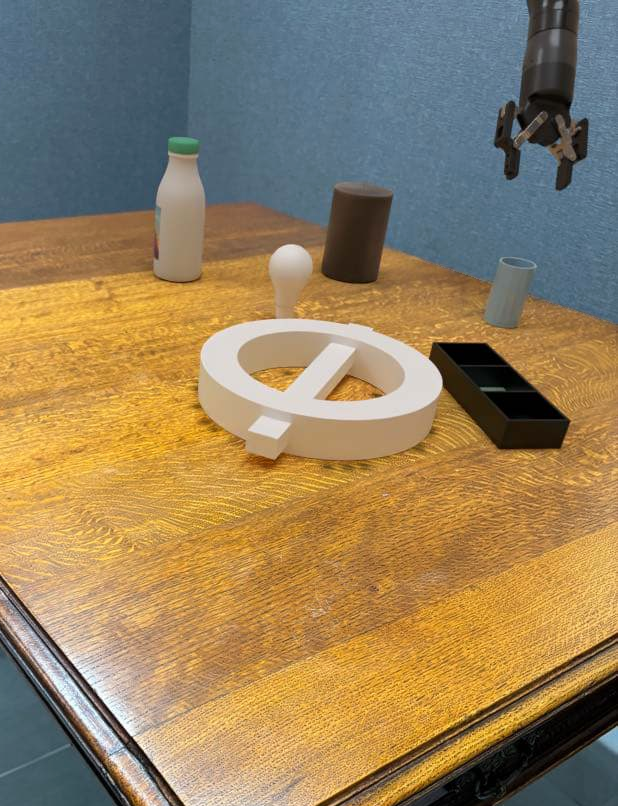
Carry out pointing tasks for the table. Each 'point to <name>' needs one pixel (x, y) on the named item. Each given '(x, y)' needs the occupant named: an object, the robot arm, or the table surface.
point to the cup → (509, 292)
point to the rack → (498, 397)
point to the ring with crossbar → (317, 389)
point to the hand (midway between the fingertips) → (537, 183)
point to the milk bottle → (180, 215)
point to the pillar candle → (356, 232)
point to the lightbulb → (289, 277)
